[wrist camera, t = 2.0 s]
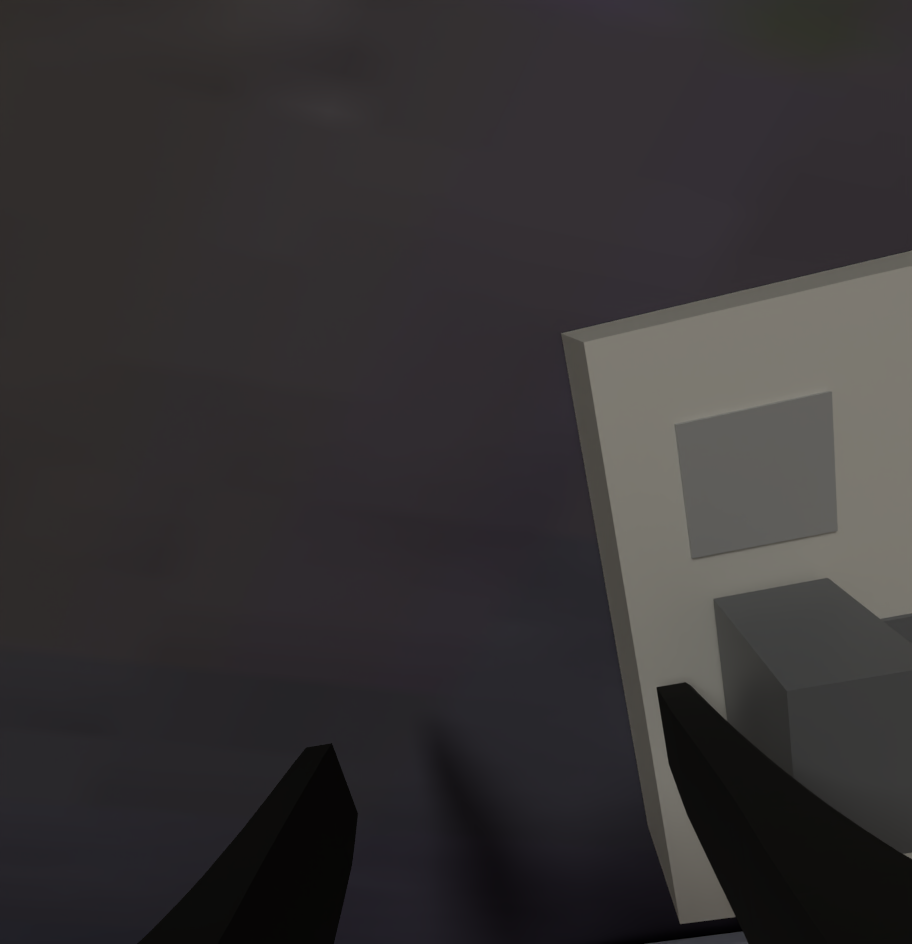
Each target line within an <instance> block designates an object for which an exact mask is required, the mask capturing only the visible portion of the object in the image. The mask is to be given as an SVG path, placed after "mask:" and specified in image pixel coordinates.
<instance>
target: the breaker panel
mask: <svg viewBox="0 0 912 944" xmlns="http://www.w3.org/2000/svg"><path fill="white" fill-rule="evenodd" d="M561 336H562V342H563V347H564V353H565V359H566V364H567V370H568V376H569V381H570V387H571V393H572V398H573V404H574V410H575V415H576V421H577V427H578V432H579V438H580V444H581V449H582V455H583V461H584V466H585V472H586V478H587V483H588V489H589V495H590V500H591V506H592V512H593V518H594V523H595V529H596V535H597V540H598V546H599V552H600V557H601V563H602V569H603V574H604V580H605V586H606V591H607V597H608V603H609V608H610V614H611V620H612V625H613V631H614V637H615V642H616V648H617V654H618V659H619V665H620V671H621V676H622V682H623V688H624V693H625V699H626V705H627V710H628V716H629V722H630V728H631V733H632V739H633V745H634V750H635V756H636V762H637V767H638V773H639V779H640V784H641V790H642V796H643V801H644V807H645V813H646V818H647V824H648V828H649V831H650V834H651V837H652V840H653V843H654V846H655V849H656V852H657V855H658V858H659V861H660V864H661V867H662V871H663V874H664V877H665V880H666V883H667V886H668V889H669V892H670V895H671V898H672V901H673V904H674V907H675V910H676V913H677V916H678V919H679V922H680V924H685V923H692V922H700V921H708V920H716V919H724V918H731V917H736V916H735V914H734V912H733V910H732V908H731V906H730V904H729V902H728V900H727V898H726V895H725V893H724V891H723V889H722V887H721V885H720V883H719V881H718V879H717V877H716V875H715V873H714V870H713V868H712V866H711V864H710V862H709V860H708V858H707V856H706V854H705V852H704V850H703V847H702V845H701V843H700V841H699V839H698V837H697V835H696V833H695V831H694V828H693V826H692V824H691V822H690V820H689V818H688V816H687V813H686V811H685V808H684V805H683V802H682V800H681V797H680V794H679V792H678V789H677V786H676V783H675V780H674V778H673V775H672V772H671V769H670V766H669V763H668V757H667V751H666V744H665V738H664V732H663V726H662V720H661V713H660V707H659V701H658V695H657V689H656V687H661V686H666V685H672V684H678V683H684V682H686V683H688V684H689V685H691V686H692V687H693V688H694V689H695V690H696V691H697V692H698V693H699V694H700V695H701V696H702V697H703V698H704V699H705V700H706V701H707V702H708V703H709V704H710V705H711V706H712V707H713V708H714V709H715V710H716V711H717V712H718V713H719V714H720V715H721V716H722V717H723V718H724V719H725V720H726V721H727V713H726V705H725V696H724V687H723V679H722V670H721V661H720V653H719V644H718V635H717V627H716V618H715V609H714V601H713V599H715V598H720V597H726V596H731V595H736V594H742V593H747V592H753V591H758V590H764V589H769V588H775V587H780V586H785V585H791V584H796V583H802V582H807V581H813V580H818V579H823V578H829V579H830V580H831V581H833V582H834V583H835V584H836V585H838V586H839V587H840V588H842V589H843V590H844V591H845V592H847V593H848V594H849V595H850V596H852V597H853V598H854V599H855V600H857V601H858V602H859V603H861V604H862V605H863V606H864V607H866V608H867V609H868V610H869V611H871V612H872V613H873V614H875V615H876V616H877V617H878V618H880V619H881V620H882V621H883V622H885V623H886V624H887V625H888V626H890V627H891V628H892V629H894V630H895V631H896V632H897V633H899V634H900V635H901V636H902V637H904V638H905V639H906V640H908V641H909V642H910V643H911V644H912V251H908V252H904V253H900V254H896V255H891V256H887V257H883V258H879V259H874V260H870V261H866V262H862V263H857V264H853V265H849V266H845V267H840V268H836V269H832V270H828V271H824V272H819V273H815V274H811V275H807V276H802V277H798V278H794V279H790V280H785V281H781V282H777V283H773V284H768V285H764V286H760V287H756V288H751V289H747V290H743V291H739V292H735V293H730V294H726V295H722V296H718V297H713V298H709V299H705V300H701V301H696V302H692V303H688V304H684V305H679V306H675V307H671V308H667V309H663V310H658V311H654V312H650V313H646V314H641V315H637V316H633V317H629V318H624V319H620V320H616V321H612V322H607V323H603V324H599V325H595V326H591V327H586V328H582V329H578V330H574V331H569V332H565V333H561ZM904 855H906V856H907V857H909V858H911V859H912V853H906V854H904Z"/></svg>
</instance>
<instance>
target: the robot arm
mask: <svg viewBox="0 0 912 944" xmlns="http://www.w3.org/2000/svg"><path fill="white" fill-rule="evenodd" d="M656 689H657V695H658V701H659V707H660V713H661V720H662V726H663V732H664V738H665V744H666V751H667V757H668V763H669V766H670V769H671V772H672V775H673V778H674V780H675V783H676V786H677V789H678V792H679V794H680V797H681V800H682V802H683V805H684V808H685V811H686V813H687V816H688V818H689V820H690V822H691V824H692V826H693V828H694V831H695V833H696V835H697V837H698V839H699V841H700V843H701V845H702V847H703V850H704V852H705V854H706V856H707V858H708V860H709V862H710V864H711V866H712V868H713V870H714V873H715V875H716V877H717V879H718V881H719V883H720V885H721V887H722V889H723V891H724V893H725V895H726V898H727V900H728V902H729V904H730V906H731V908H732V910H733V912H734V914H735V916H736V918H737V920H738V923H739V925H740V927H741V929H742V931H741V932H733V933H725V934H717V935H709V936H701V937H693V938H685V939H678V940H670V941H662V942H654V943H646V944H912V859H911V858H909V857H907V856H906V855H904V854H902V853H901V852H899V851H897V850H896V849H894V848H893V847H891V846H889V845H888V844H886V843H885V842H883V841H882V840H880V839H879V838H877V837H876V836H874V835H872V834H871V833H869V832H868V831H866V830H865V829H863V828H862V827H860V826H859V825H857V824H856V823H854V822H853V821H852V820H850V819H849V818H847V817H846V816H844V815H843V814H841V813H840V812H838V811H837V810H836V809H834V808H833V807H831V806H830V805H829V804H827V803H826V802H824V801H823V800H822V799H820V798H819V797H818V796H816V795H815V794H814V793H812V792H811V791H810V790H808V789H807V788H806V787H805V786H803V785H802V784H801V783H799V782H798V781H797V780H796V779H794V778H793V777H792V776H790V775H789V774H788V773H787V772H785V771H784V770H783V769H782V768H780V767H779V766H778V765H777V764H776V763H774V762H773V761H772V760H771V759H769V758H768V757H767V756H766V755H765V754H764V753H762V752H761V751H760V750H759V749H758V748H757V747H756V746H754V745H753V744H752V743H751V742H750V741H749V740H747V739H746V738H745V737H744V736H743V735H742V734H741V733H739V732H738V731H737V730H736V729H735V728H734V727H733V726H732V725H731V724H730V723H729V722H727V721H726V720H725V719H724V718H723V717H722V716H721V715H720V714H719V713H718V712H717V711H716V710H715V709H714V708H713V707H712V706H711V705H710V704H709V703H708V702H707V701H706V700H705V699H704V698H703V697H702V696H701V695H700V694H699V693H698V692H697V691H696V690H695V689H694V688H693V687H692V686H691V685H689V684H688V683H686V682H684V683H678V684H672V685H666V686H661V687H656ZM357 816H358V813H357V810H356V807H355V805H354V802H353V799H352V797H351V794H350V791H349V788H348V786H347V783H346V780H345V778H344V775H343V772H342V770H341V767H340V764H339V761H338V759H337V756H336V753H335V751H334V748H333V745H332V743H331V744H325V745H320V746H314V747H308V748H306V749H305V750H304V751H303V752H302V754H301V755H300V756H299V757H298V759H297V760H296V761H295V762H294V764H293V765H292V766H291V768H290V769H289V770H288V771H287V773H286V774H285V775H284V777H283V778H282V779H281V781H280V782H279V783H278V785H277V786H276V787H275V788H274V790H273V791H272V792H271V794H270V795H269V796H268V798H267V799H266V800H265V801H264V803H263V804H262V805H261V806H260V808H259V809H258V810H257V812H256V813H255V814H254V815H253V817H252V818H251V819H250V820H249V822H248V823H247V824H246V826H245V827H244V828H243V829H242V831H241V832H240V833H239V834H238V835H237V837H236V838H235V839H234V840H233V841H232V842H231V844H230V845H229V846H228V847H227V848H226V850H225V851H224V852H223V853H222V854H221V855H220V857H219V858H218V859H217V860H216V861H215V863H214V864H213V865H212V866H211V867H210V868H209V870H208V871H207V872H206V873H205V874H204V876H203V877H202V878H201V879H200V880H199V881H198V882H197V883H196V884H195V886H194V887H193V888H192V889H191V890H190V891H189V892H188V893H187V894H186V895H185V896H184V897H183V899H182V900H181V901H180V902H179V903H178V904H177V905H176V906H175V907H174V908H173V909H172V910H171V911H170V912H169V913H168V914H167V915H166V916H165V917H164V918H163V919H162V920H161V921H160V922H159V923H158V924H157V925H156V926H155V927H154V928H153V929H152V930H151V931H150V932H149V933H148V934H147V935H146V936H145V937H144V938H143V939H142V940H141V941H140V942H139V943H138V944H334V940H335V936H336V932H337V927H338V923H339V919H340V915H341V911H342V906H343V902H344V897H345V893H346V889H347V884H348V880H349V875H350V871H351V866H352V859H353V852H354V844H355V835H356V825H357Z"/></svg>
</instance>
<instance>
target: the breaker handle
mask: <svg viewBox="0 0 912 944" xmlns="http://www.w3.org/2000/svg"><path fill="white" fill-rule="evenodd" d="M713 601H714V609H715V618H716V627H717V635H718V644H719V653H720V661H721V670H722V679H723V687H724V696H725V705H726V713H727V722H729V723H730V724H731V725H732V726H733V727H734V728H735V729H736V730H737V731H738V732H739V733H741V734H742V735H743V736H744V737H745V738H746V739H747V740H749V741H750V742H751V743H752V744H753V745H754V746H756V747H757V748H758V749H759V750H760V751H761V752H762V753H764V754H765V755H766V756H767V757H768V758H769V759H771V760H772V761H773V762H774V763H776V764H777V765H778V766H779V767H780V768H782V769H783V770H784V771H785V772H787V773H788V774H789V775H790V776H792V777H793V778H794V779H796V780H797V781H798V782H799V783H801V784H802V785H803V786H805V787H806V788H807V789H808V790H810V791H811V792H812V793H814V794H815V795H816V796H818V797H819V798H820V799H822V800H823V801H824V802H826V803H827V804H829V805H830V806H831V807H833V808H834V809H836V810H837V811H838V812H840V813H841V814H843V815H844V816H846V817H847V818H849V819H850V820H852V821H853V822H854V823H856V824H857V825H859V826H860V827H862V828H863V829H865V830H866V831H868V832H869V833H871V834H872V835H874V836H876V837H877V838H879V839H880V840H882V841H883V842H885V843H886V844H888V845H889V846H891V847H893V848H894V849H896V850H897V851H899V852H901V853H902V854H906V853H912V644H911V643H910V642H909V641H908V640H906V639H905V638H904V637H902V636H901V635H900V634H899V633H897V632H896V631H895V630H894V629H892V628H891V627H890V626H888V625H887V624H886V623H885V622H883V621H882V620H881V619H880V618H878V617H877V616H876V615H875V614H873V613H872V612H871V611H869V610H868V609H867V608H866V607H864V606H863V605H862V604H861V603H859V602H858V601H857V600H855V599H854V598H853V597H852V596H850V595H849V594H848V593H847V592H845V591H844V590H843V589H842V588H840V587H839V586H838V585H836V584H835V583H834V582H833V581H831V580H830V579H829V578H823V579H818V580H813V581H807V582H802V583H796V584H791V585H785V586H780V587H775V588H769V589H764V590H758V591H753V592H747V593H742V594H736V595H731V596H726V597H720V598H715V599H713Z"/></svg>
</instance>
